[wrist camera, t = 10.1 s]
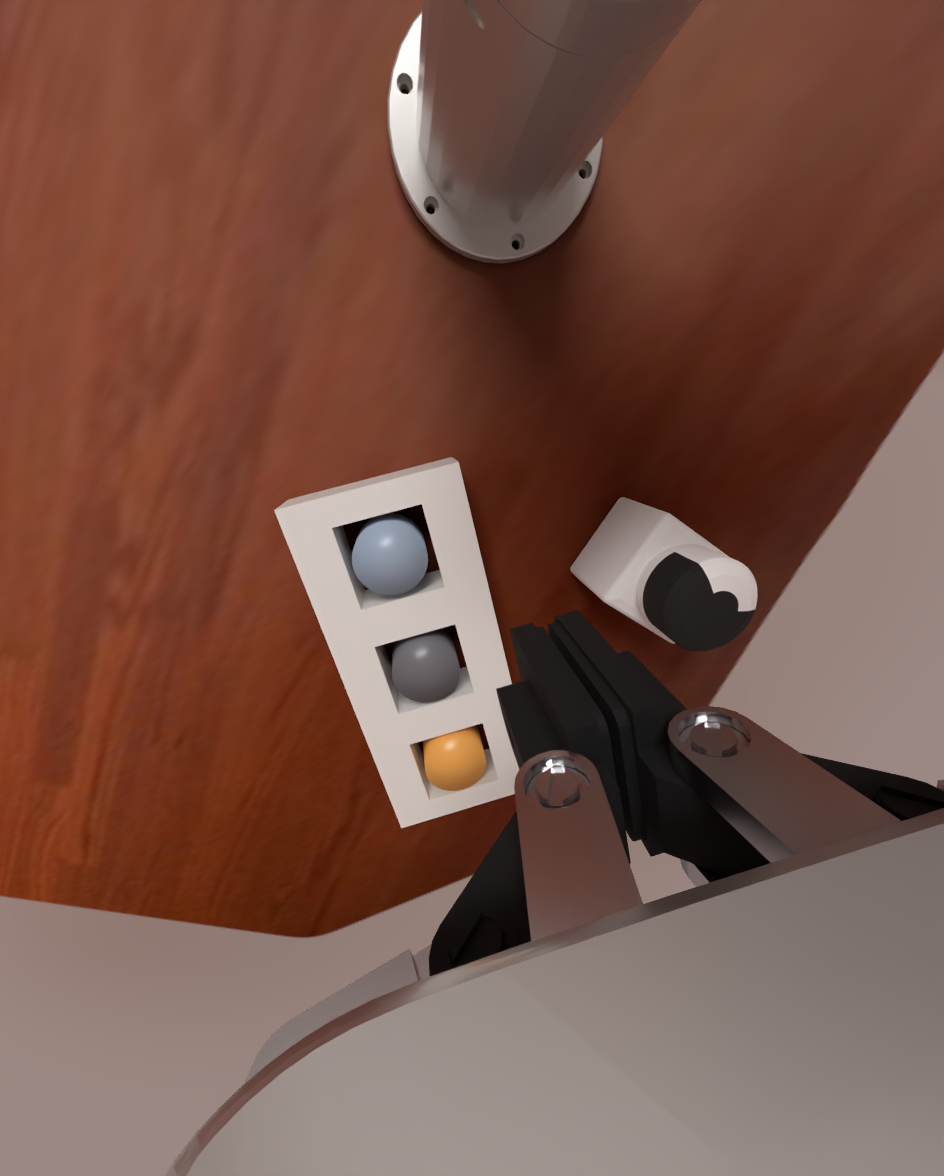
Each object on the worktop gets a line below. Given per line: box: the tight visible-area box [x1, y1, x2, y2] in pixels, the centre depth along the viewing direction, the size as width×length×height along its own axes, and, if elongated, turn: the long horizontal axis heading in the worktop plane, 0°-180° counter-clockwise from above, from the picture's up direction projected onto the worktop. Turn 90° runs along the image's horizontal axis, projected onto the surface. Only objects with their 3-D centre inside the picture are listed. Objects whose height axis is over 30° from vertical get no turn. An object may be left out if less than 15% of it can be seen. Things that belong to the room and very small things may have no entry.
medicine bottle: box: [570, 497, 757, 651], centre depth 33 cm, size 7×7×12 cm
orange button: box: [423, 725, 486, 791], centre depth 39 cm, size 5×5×4 cm
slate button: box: [352, 513, 428, 595], centre depth 33 cm, size 5×5×4 cm
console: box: [274, 457, 519, 828], centre depth 37 cm, size 28×12×4 cm, turn 13°
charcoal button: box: [392, 628, 460, 702], centre depth 36 cm, size 5×5×4 cm
